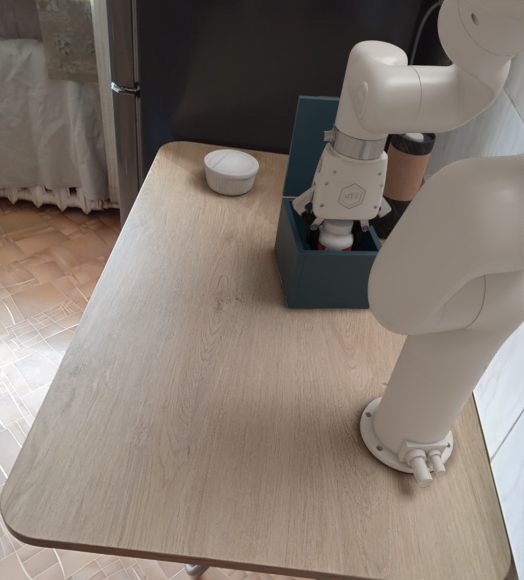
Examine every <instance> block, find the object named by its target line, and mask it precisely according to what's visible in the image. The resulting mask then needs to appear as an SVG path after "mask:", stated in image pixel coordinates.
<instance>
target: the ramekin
mask: <svg viewBox="0 0 524 580" xmlns="http://www.w3.org/2000/svg"><path fill="white" fill-rule="evenodd" d="M203 167H204V170H205V171H204V172H205V178H206V183H207V185H208V187H209V188H210V189H211V190H212V191H214V192H216V193H217V194H221V195H224V196H240V195H245V194H246V193H248V192H249V191H250V190H251V189H252V188H253V186H254V182H255V179H256V177H257V173H258V172H259V169H260V166H259V162H258V160H257V159H256V158H255V157H254V156H253V155H251V154H249V153H247V152H245V151H240V150H237V149H217V150H214V151H213V150H212V151H211V152H209V153H207V154H206V155H205V156H204V158H203Z"/></svg>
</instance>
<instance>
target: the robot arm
mask: <svg viewBox="0 0 524 580" xmlns="http://www.w3.org/2000/svg"><path fill="white" fill-rule="evenodd" d="M437 33H438V38H439V42H440V44H441V47H442V49H443V50H444V52H445V54H446V56H447V57H448V58H449V60H450V61H451V62H452V63H453V64H450V65H449V66H448V65H447V66H443V65H442V66H441V65H410V64H409V65H408V63H409V62H408V61H409V60H408V56H407V53H406V52H405V51H404V49H402V48H400V47H399V46H397V45H395V44H392V43H390V42H386V41H381V40H364V41H359V42H358V43H356V44H355V45H354V46H353V47H352V48H351V50H350V52H349V55H348V59H347V64H346V68H345V73H344V78H343V82H342V88H341V92H340V96H339V97H340V101H339V106H338V111H337V115H336V120H335V124H334V123H333V128H332V129H331V130H329V131H323V134H322V140H323V141H328V142H330V143H327V144H326V146H325V148H324V151H323V153H322V155H321V158H320V160H319V163H318V166H317V169H316V172H315V175H314V179H313V183H312V187H311V188H310V189H308V190H307V191H305V192H304V193H303V194H301V195H300V196H299V197H295V198H296V199H295V200H293V202H292V204H293V208H294V209H295V210H296V211H297V213H298V214H299V215H300V216H301V217H302V219H303V220H304V221H305V222H306V223H307V224H308V230H307V234H306V243H307V244H309V246H310V249H311V250H316V249H317V244H318V240H319V235H320V230H319V226H320V224H321V223H322V221H323V220H324V219H338V220H357V221H354V223H353V226H352V229H351V232H352V234H353V237H354V239H353V244H352V247H351V250H352V251H357V250H358V247H359V245H361V244H362V240H363V237H364V233H365V232H366V231H368V230H369V227H370V226H371V225H373V224H374V223H376V222H377V221H379V219H380V218H381V217H383V216H384V215H386V214H387V213H389V212H390V211H391V207H390V205H389V203H388V202H387V201H386V199H385V198H384V197H383V190H384V185H385V179H386V172H387V161H388V156H387V152H386V151H385V147H386V144H387V141H388V137H389V135H393V134H403V133H434V134H443V133H448V132H450V131H451V132H452V131H454V130H457V129H458V128H460V127H462V126H464V125H466V124H467V123H469V122H470V121H472V120H473V119H475V118H476V117H478V116H479V115H480V114H482V113H483V112H484V111H486V110H487V109H489V108H490V107H491V106H492V105H493V104H494V103H495V102H496V100H497V99H498V97H499V96H500V94H501V92H502V90H503V88H504V86H505V84H506V81H507V79H508V76H509V73H510V70H511V63H512V59H513V58H514V57H516V56H518V54H520V53H521V52H522V51H524V0H443V2H442V4H441V6H440V9H439V11H438V17H437ZM309 202H311V203H313V209H312V210H311V212H310V211H309V210H308V209H307V208H306V207H305V205H307V204H308V203H309ZM368 301H369V305H370V306H369V309H370V311H371V313H372V315H373V317H374V319H375V320H376V321H377V322H378V323H379V325H381V327H383V328H384V329H385V330H387V331H389V332H391V333H394V334H397V335H402V336H406V338H405V341H404V343H403V345H402V348H401V350H400V351H399V355H398V357H397V360H396V362H395V365H394V367H393V370H392V372H391V374H390V377H389V379H388V381H387V384H386V386H385V389H384V392H383V393H382V396H379V397H376V398H373V400H372V401H370V402H369V403H368V404H367V405H366V407H365V408H364V410H363V412H362V414H361V418H360V420H359V431H360V436H361V438H362V440H363V443H364V444H365V446H366V447H367V450H369V451H370V453H371V454H372V455H373V456H374V457H375V458H376V459H378V460H379V461H380V462H381V463H383V464H384V465H386V466H388V467H390V468H392V469H394V470H397V471H399V472H403V473H408V474H413V476H414V478H415V479H414V480H415V481H416V484H417V486H418V487H419V488H427V487H429V486H431V485H432V484H433V483H434V480H433V479H434V478H433V477H432V475H431V472H434V476H436V477H438V478H439V477H443V476H445V475H446V474H447V469H446V467H445V465H444V464H446V462H447V461H448V459H449V458H450V456H451V454H452V452H453V450H454V444H455V443H454V437H453V436H454V435H453V432H452V428H453V426H454V425H455V423H456V421H457V420H458V418H459V416H460V415H461V412H462V411H463V409H464V408H465V406H466V404H467V403H468V401H469V399H470V397H471V395H472V394H473V392H474V391H475V389H476V388H477V386H478V384H479V382H480V380H481V378H483V376H484V374H485V372H486V371H487V369H488V367H489V366H490V364H491V363H492V361H493V359H494V358H495V356H496V355H497V353H498V352H499V350H500V349H501V348H502V346H503V345H504V344H505V342H506V341H508V339H509V338H510V337H511V336H512V335H513V334H514V333H515V331H516V330H517V329H518V328H519V327H520V326H521V325H522V324H523V323H524V152H523V153H519V154H511V155H494V156H493V155H492V156H489V155H488V156H476V157H468V158H463V159H459V160H456V161H453V162H451V163H448V164H447V165H445V166H443V167H442V168H439V170H437V171H436V172H434V173H433V174H432V175H431V176H430V177H429V178H428V179H426V181H425V182H424V183H422V186H420V188H419V191H418V192H417V194H416V195H415V197H414V198H413V200H412V201H411V203H410V204H409V206H408V207H407V209H406V210H405V212H404V213H403V215H402V217H401V218H400V220H399V221H398V223H397V224H396V226H395V227H394V229H393V230H392V232H391V233H390V235H389V236H388V238H387V239H385V241H384V242H383V244H382V247H381V249H380V251H379V252H378V254H377V256H376V258H375V261H374V263H373V265H372V268H371V272H370V275H369V281H368Z"/></svg>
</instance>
